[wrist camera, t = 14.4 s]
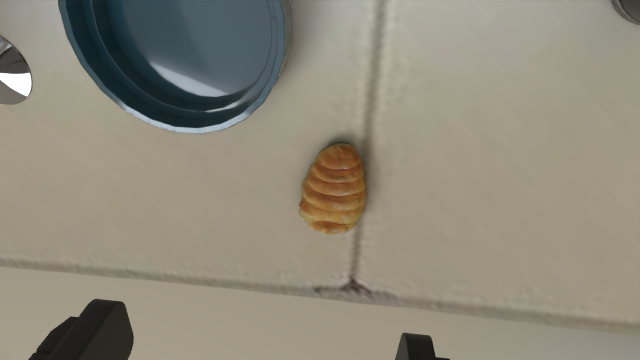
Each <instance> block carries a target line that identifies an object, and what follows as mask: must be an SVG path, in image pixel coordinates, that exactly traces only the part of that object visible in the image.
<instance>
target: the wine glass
mask: <svg viewBox="0 0 640 360" xmlns="http://www.w3.org/2000/svg"><path fill="white" fill-rule="evenodd" d="M31 88H32V78H31V73H30V70H29V67H28V65H27V63H26V61H25V60H24V58H23V57H22V55H21V54H20V53H19V52H18V50H17V49H16V48H15V47H14V46H13V45H12V44H11V43H9V42H8V41H7V40H5V39H4V38H2V37H1V36H0V103H2V104H17V103H20V102H22V101H24V100H25V99H26V98H27V97H28V96H29V94H30V92H31Z"/></svg>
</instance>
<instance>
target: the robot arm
mask: <svg viewBox="0 0 640 360" xmlns="http://www.w3.org/2000/svg"><path fill="white" fill-rule="evenodd" d="M611 1H612V3H613V5H614V7H615V9H616V10H617V11H618V13H619V14H620V15H621V16H622V17H624V18H625V19H626V20H628V21H630V22H632V23H635V24H637V25H640V0H611ZM133 337H134V336H133V332H132V328H131V325H130V321H129V317H128V314H127V311H126V307H125V304H124V303H123V302H120V301H110V300H102V299H94V300H92V301H91V302H90V303H89V304H88V305H87V306H86V308H85V309H84V310H83V312H82V313H81V314H80V316H79V317H69V318H68V319H67V320H65V321H64V322H63V323H61V324H60V325H59V326H58V327H56V328H55V329H53V330H52V331H51V332H50V333H49V335H48V336H47V337H46V338H45V340H44V341H43V342H42V343H41V345H40V346H39V347H38V348H37V351H36V353H33V354H32V356H31V357H30V358H29V359H28V360H128V358H129V356H130V353H131V350H132V347H133V340H134V339H133ZM395 360H450V359H447V358H437V357H435V352H434V347H433V342H432V339H431V337H430V336H429V335H419V334H409V333H403V334H402V336H401V339H400V343H399V347H398V351H397V354H396V358H395Z"/></svg>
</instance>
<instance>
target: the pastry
mask: <svg viewBox="0 0 640 360" xmlns="http://www.w3.org/2000/svg"><path fill="white" fill-rule="evenodd" d="M302 190H303V191H302V198H301V202H300V205H299V206H300V209H299V214H300V216H301V217H302V218H303V219H304V221H305V222H306V223H307V224H308V225H309V226H310V227H311V228H312V229H313V230H316V231H319V232H322V233H327V234H336V233H344V232H347V231H349V230H351V229H352V228H353V227H354V226H355V225H356V224H357V221H358V218H359V217H360V216H361V214H362V212H363V210H364V207H365V197H366V194H367V192H366V184H365V180H364V173H363V165H362V161H361V158H360V156H359V155H358V153H357V151H356V149H355V148H354V147H353V146H352V145H348V144H343V143H338V144H334V145H331V146H329V147H327V148H325V149H323V150H321V151H320V152H319V154H318V156H317V158H316V160H315V162H314V163H313V164H312V165H311V166H310V169H309V171H308V174H307V176H306V178H305V179H304V180H303V182H302Z"/></svg>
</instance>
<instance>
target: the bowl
mask: <svg viewBox="0 0 640 360" xmlns="http://www.w3.org/2000/svg"><path fill="white" fill-rule="evenodd" d="M58 5H59V10H60V13H61V17H62V21H63V24H64V28H65V32H66V35H67V38H68V40H69V42H70V44H71V46H72V48H73V50H74V52H75V54H76V56H77V58H78V60H79V62H80V64H81V65H82V67H83V68H84V69H85V71H86V72H87V73H88V74H89V76H90V77H91V78H92V79H93V81H94V82H95V83H96V84H97V86H98V87H99V88H100V90H102V92H104V93H105V94H106V95H107V96H108V97H109V98H111V99H112V100H113V101H114V102H115V103H116V104H118V105H119V106H120V107H121V108H122V109H124V110H125V111H126V112H128V113H130V114H132V115H134V116H135V117H137V118H139V119H141V120H142V121H144V122H146V123H148V124H150V125H154V126H157V127H160V128H163V129H166V130H169V131H173V132H180V133H193V134H203V133H208V132H214V131H219V130H224V129H226V128H228V127H230V126H233V125H235V124H237V123H239V122H241V121H243V120H245V119H246V118H247V117H248V116H250V115H251V114H252V113H253V112H254V111H255V110H256V109H257V108H258V107H259V106H260V105H262V104H263V103H264V101H265V100H266V98H267V96H268V95H269V93H270V91H271V90H272V88H273V86H274V85H275V83H276V81H277V80H278V78H279V76H280V75H281V73H282V71H283V70H284V67H285V65H286V61H287V57H288V54H289V50H290V46H291V42H292V11H291V7H290V2H289V0H58Z"/></svg>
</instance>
